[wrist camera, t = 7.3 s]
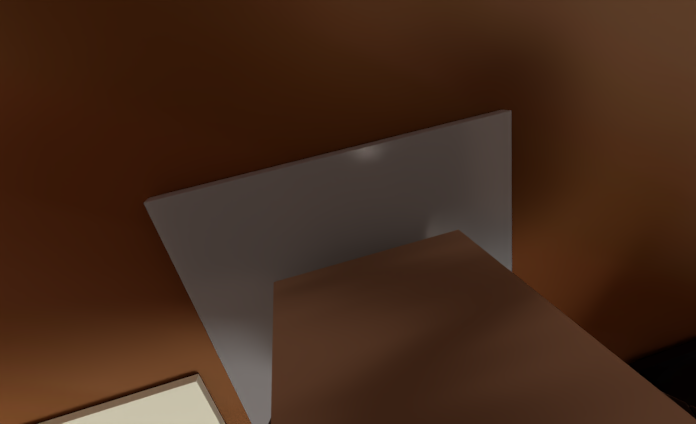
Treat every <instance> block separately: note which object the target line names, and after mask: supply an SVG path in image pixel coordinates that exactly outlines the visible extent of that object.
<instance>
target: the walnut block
mask: <svg viewBox="0 0 696 424" xmlns="http://www.w3.org/2000/svg"><path fill="white" fill-rule="evenodd" d="M271 424H696V419H695V418H694V417H693V416H691V415H690V414H689V413H688V412H686V411H685V410H684V409H683V408H681V407H680V406H679V405H677V404H676V403H675V402H674V401H672V400H671V399H670V398H669V397H667V396H666V395H665V394H664V393H662V392H661V391H660V390H659V389H657V388H656V387H655V386H654V385H652V384H651V383H650V382H649V381H647V380H646V379H645V378H644V377H642V376H641V375H640V374H639V373H637V372H636V371H635V370H634V369H632V368H631V367H630V366H629V365H627V364H626V363H625V362H624V361H622V360H621V359H620V358H619V357H617V356H616V355H615V354H614V353H612V352H611V351H610V350H609V349H607V348H606V347H605V346H604V345H602V344H601V343H600V342H599V341H597V340H596V339H595V338H594V337H592V336H591V335H590V334H589V333H587V332H586V331H585V330H584V329H582V328H581V327H580V326H579V325H577V324H576V323H575V322H574V321H572V320H571V319H570V318H569V317H567V316H566V315H565V314H564V313H562V312H561V311H560V310H559V309H557V308H556V307H555V306H554V305H552V304H551V303H550V302H549V301H547V300H546V299H545V298H544V297H542V296H541V295H540V294H539V293H537V292H536V291H535V290H534V289H532V288H531V287H530V286H529V285H527V284H526V283H525V282H524V281H522V280H521V279H520V278H519V277H517V276H516V275H515V274H514V273H512V272H511V271H510V270H509V269H507V268H506V267H505V266H504V265H502V264H501V263H500V262H499V261H497V260H496V259H495V258H494V257H492V256H491V255H490V254H489V253H487V252H486V251H485V250H484V249H482V248H481V247H480V246H479V245H477V244H476V243H475V242H474V241H472V240H471V239H470V238H469V237H467V236H466V235H465V234H464V233H462V232H461V231H460V230H459V229H458V230H455V231H451V232H448V233H444V234H441V235H437V236H434V237H430V238H427V239H423V240H420V241H416V242H413V243H409V244H406V245H402V246H399V247H395V248H392V249H388V250H385V251H381V252H378V253H374V254H371V255H367V256H364V257H360V258H357V259H353V260H350V261H346V262H343V263H339V264H336V265H332V266H329V267H325V268H321V269H318V270H314V271H311V272H307V273H304V274H300V275H297V276H293V277H290V278H286V279H283V280H279V281H276V282H274V289H273V341H272V392H271Z"/></svg>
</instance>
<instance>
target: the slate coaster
mask: <svg viewBox="0 0 696 424" xmlns="http://www.w3.org/2000/svg"><path fill="white" fill-rule="evenodd" d="M144 205H145V207H146V209H147V211H148V213H149V215H150V217H151V219H152V222H153V224H154V226H155V228H156V230H157V232H158V234H159V236H160V238H161V240H162V242H163V244H164V246H165V248H166V250H167V252H168V254H169V256H170V258H171V260H172V262H173V264H174V266H175V268H176V270H177V272H178V274H179V276H180V278H181V281H182V283H183V285H184V287H185V289H186V291H187V293H188V295H189V297H190V299H191V301H192V303H193V305H194V307H195V309H196V311H197V313H198V315H199V317H200V319H201V321H202V323H203V325H204V327H205V329H206V331H207V333H208V335H209V338H210V340H211V342H212V344H213V346H214V348H215V350H216V352H217V354H218V356H219V358H220V360H221V362H222V364H223V366H224V368H225V370H226V372H227V374H228V376H229V378H230V380H231V382H232V384H233V386H234V388H235V390H236V392H237V394H238V397H239V399H240V401H241V403H242V405H243V407H244V409H245V411H246V413H247V415H248V417H249V419H250V421H251V423H252V424H268V423H269V421H270V418H271V392H272V341H273V289H274V282H276V281H279V280H283V279H286V278H290V277H293V276H297V275H300V274H304V273H307V272H311V271H314V270H318V269H321V268H325V267H329V266H332V265H336V264H339V263H343V262H346V261H350V260H353V259H357V258H360V257H364V256H367V255H371V254H374V253H378V252H381V251H385V250H388V249H392V248H395V247H399V246H402V245H406V244H409V243H413V242H416V241H420V240H423V239H427V238H430V237H434V236H437V235H441V234H444V233H448V232H451V231H455V230H458V229H459V230H460V231H461V232H462V233H464V234H465V235H466V236H467V237H469V238H470V239H471V240H472V241H474V242H475V243H476V244H477V245H479V246H480V247H481V248H482V249H484V250H485V251H486V252H487V253H489V254H490V255H491V256H492V257H494V258H495V259H496V260H497V261H499V262H500V263H501V264H502V265H504V266H505V267H506V268H507V269H509V270H510V271H511V272H512V110H503V109H502V110H498V111H494V112H490V113H486V114H482V115H478V116H474V117H470V118H466V119H462V120H458V121H454V122H450V123H446V124H442V125H438V126H434V127H430V128H426V129H422V130H418V131H414V132H410V133H406V134H402V135H398V136H394V137H390V138H386V139H382V140H378V141H374V142H370V143H366V144H362V145H358V146H354V147H350V148H346V149H342V150H338V151H334V152H330V153H326V154H322V155H318V156H314V157H310V158H306V159H302V160H298V161H294V162H290V163H286V164H282V165H278V166H274V167H270V168H266V169H262V170H258V171H254V172H250V173H246V174H242V175H238V176H234V177H230V178H226V179H222V180H218V181H214V182H210V183H206V184H202V185H198V186H194V187H190V188H186V189H182V190H178V191H174V192H170V193H166V194H162V195H158V196H154V197H150V198H148V199H147V200H146V201H145V202H144Z"/></svg>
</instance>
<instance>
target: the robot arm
mask: <svg viewBox="0 0 696 424" xmlns="http://www.w3.org/2000/svg"><path fill="white" fill-rule="evenodd" d="M629 366H630V367H631V368H632V369H634V370H635V371H636V372H637V373H639V374H640V375H641V376H642V377H644V378H645V379H646V380H647V381H649V382H650V383H651V384H652V385H654V386H655V387H656V388H657V389H659V390H660V391H661V392H662V393H664V394H665V395H666V396H667V397H669V398H670V399H671V400H672V401H674V402H675V403H676V404H677V405H679V406H680V407H681V408H683V409H684V410H685V411H686V412H688V413H689V414H690V415H691V416H693V417H694V418H695V419H696V340H695V341H692V342H689V343H687V344H684V345H681V346H678V347H675V348H673V349H670V350H667V351H664V352H661V353H659V354H656V355H653V356H650V357H647V358H645V359H642V360H639V361H636V362H633V363H631V364H629ZM268 424H271V418H270V421H269V423H268Z"/></svg>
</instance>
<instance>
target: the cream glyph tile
mask: <svg viewBox="0 0 696 424" xmlns="http://www.w3.org/2000/svg"><path fill="white" fill-rule="evenodd" d="M38 424H225V422H224V420H223V418H222V416H221V414H220V413H219V411H218V409H217V407H216V405H215V403H214V401H213V400H212V398H211V396H210V394H209V392H208V390H207V388H206V387H205V385H204V383H203V381H202V379H201V377H200V376H199V374H196V375H193V376H189V377H186V378H183V379H180V380H177V381H173V382H170V383H167V384H164V385H160V386H157V387H154V388H151V389H148V390H144V391H141V392H138V393H135V394H132V395H128V396H125V397H122V398H119V399H115V400H112V401H109V402H106V403H103V404H99V405H96V406H93V407H90V408H86V409H83V410H80V411H77V412H74V413H70V414H67V415H64V416H61V417H58V418H54V419H51V420H48V421H45V422H41V423H38Z"/></svg>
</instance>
